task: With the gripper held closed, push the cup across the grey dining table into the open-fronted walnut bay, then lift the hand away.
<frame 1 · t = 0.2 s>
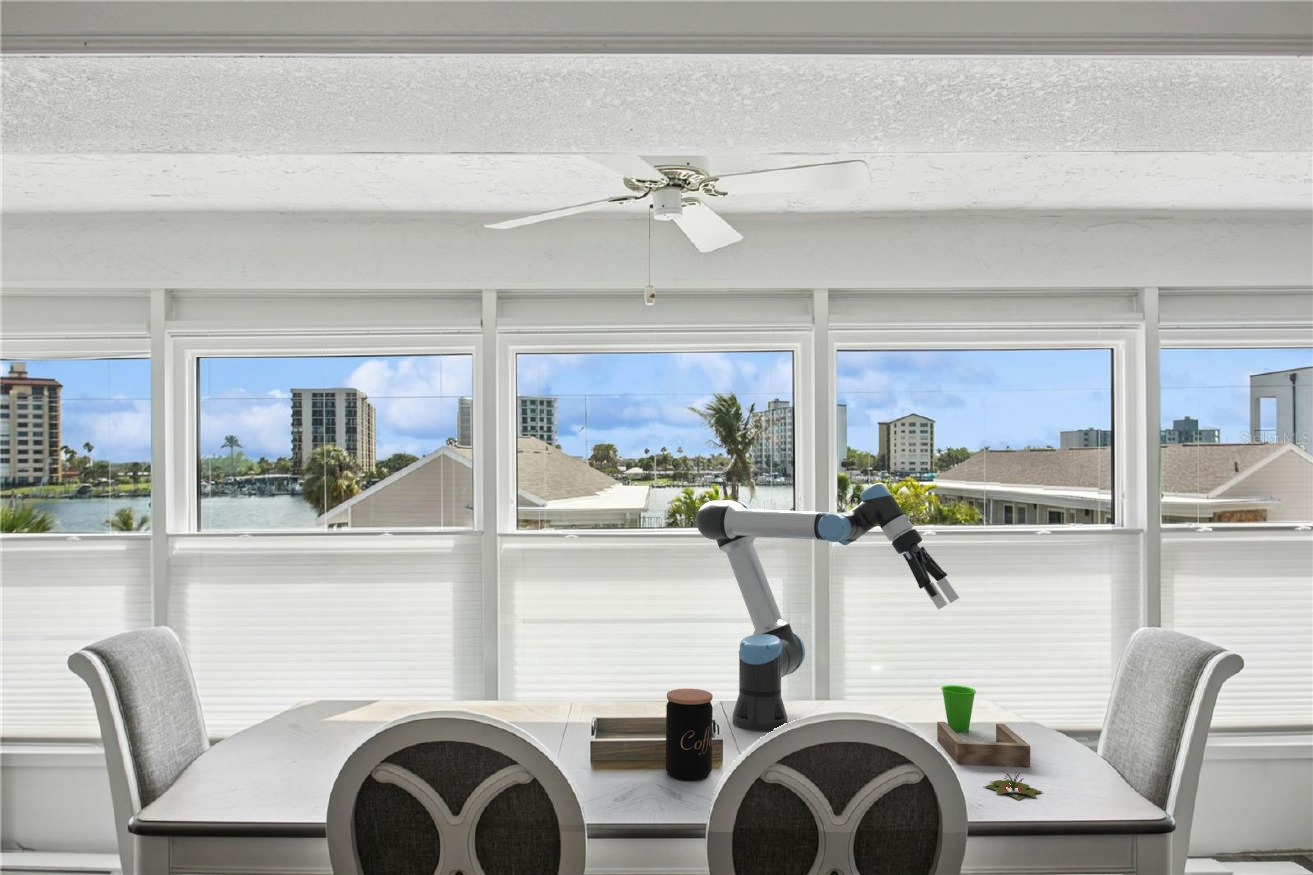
hand: (949, 603, 219), 36 cm above the table, tool tilted 35°, fingers open, 13 cm apart
lily flower: (1013, 793, 184), on the table
coffee jar: (688, 774, 191), on the table
walnut bay: (982, 754, 207), on the table
cup: (958, 730, 227), on the table
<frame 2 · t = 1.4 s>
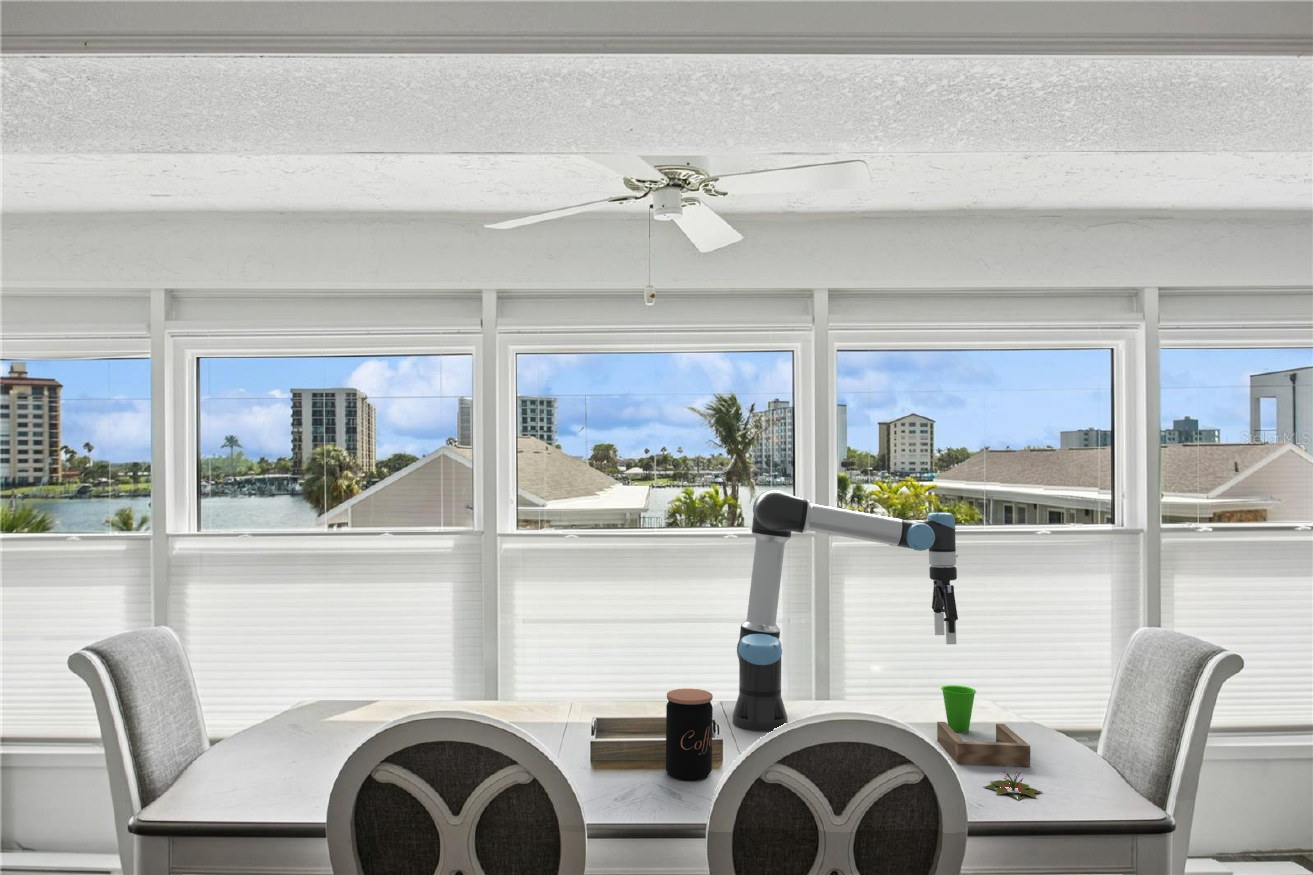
hand: (945, 639, 242), 22 cm above the table, tool pointing down, fingers open, 13 cm apart
nothing on the table moved.
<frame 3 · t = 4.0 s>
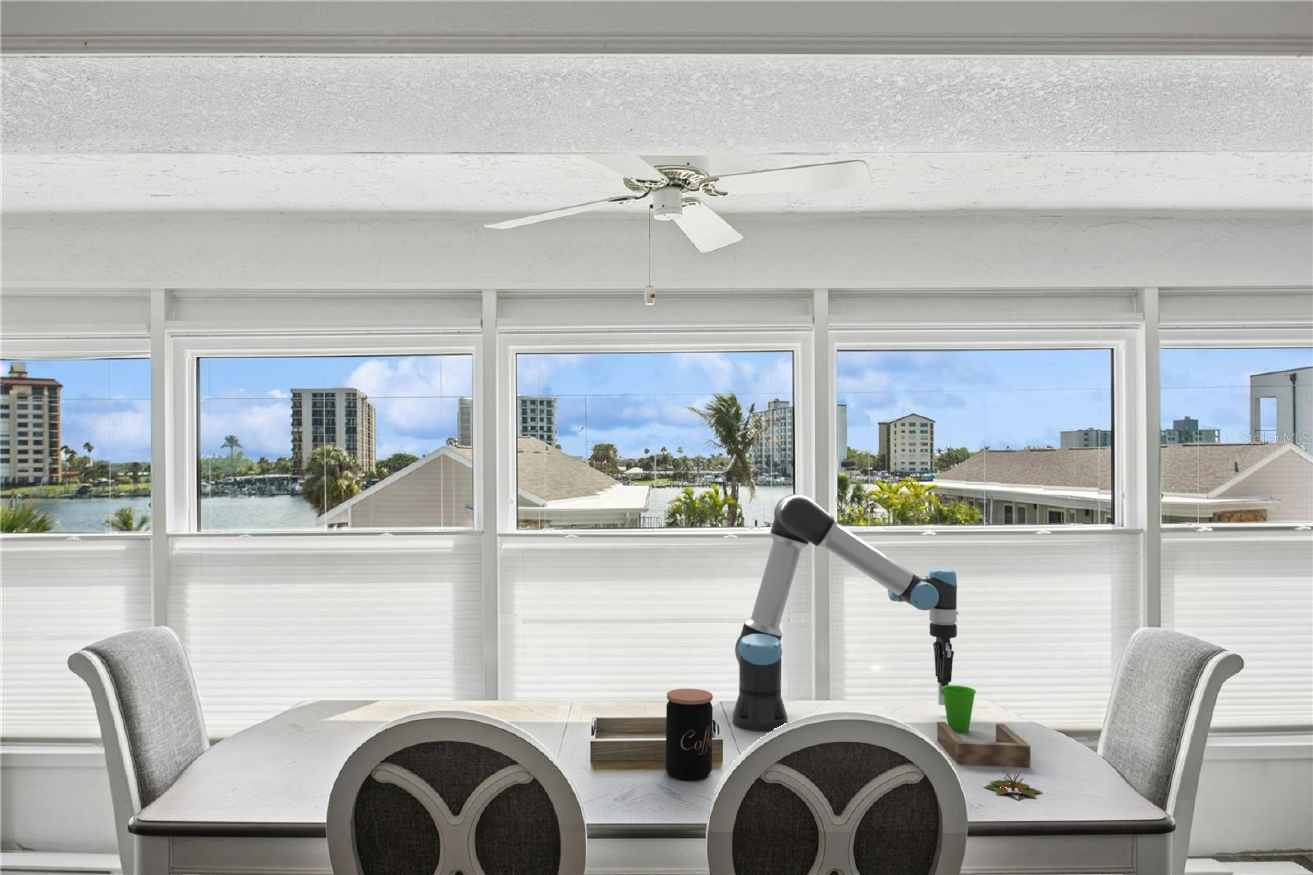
hand: (943, 704, 242), 3 cm above the table, tool pointing down, fingers closed
nothing on the table moved.
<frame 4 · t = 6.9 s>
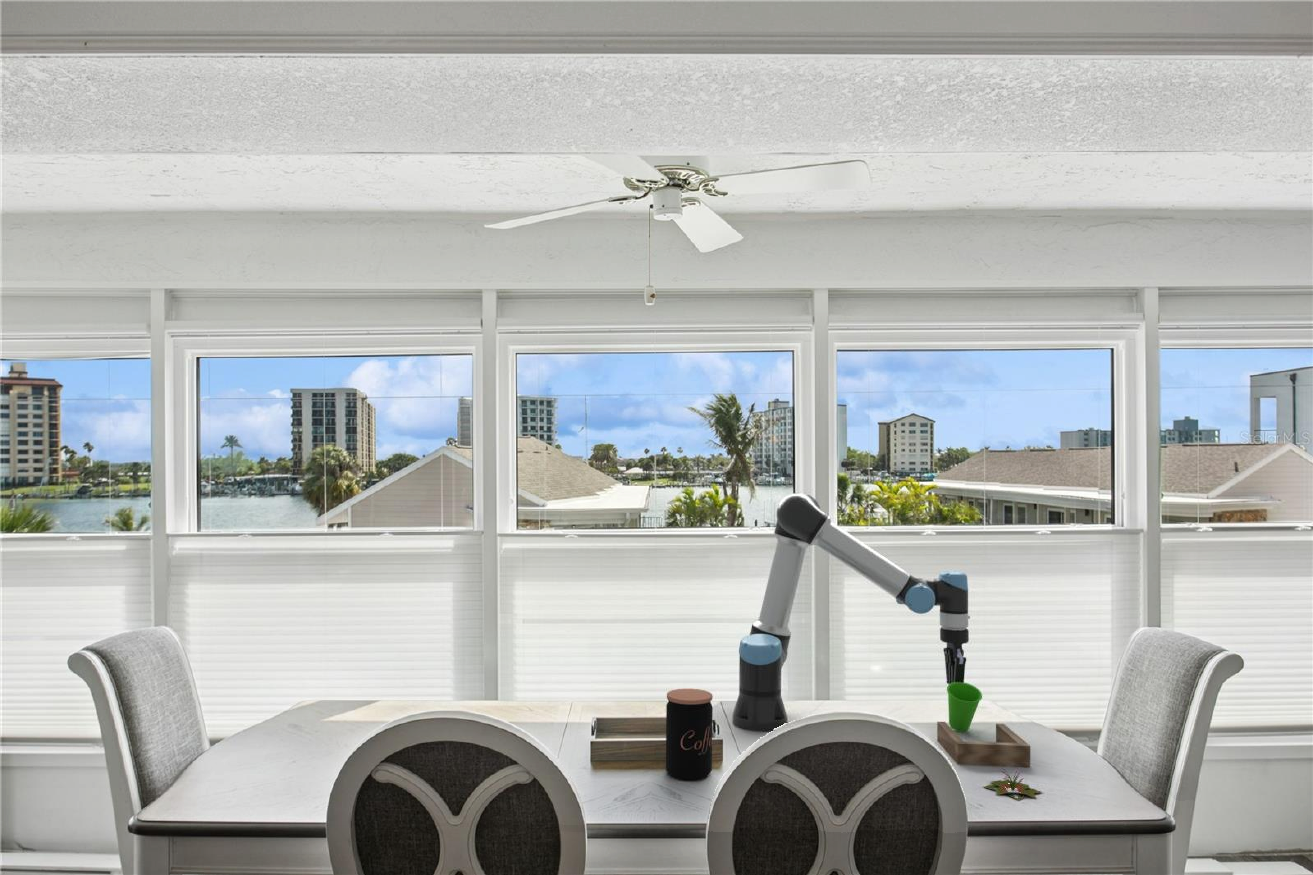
hand: (955, 712, 232), 3 cm above the table, tool pointing down, fingers closed
cup: (958, 726, 227), point 1 cm above the table, touching gripper, hand
everything else where it was.
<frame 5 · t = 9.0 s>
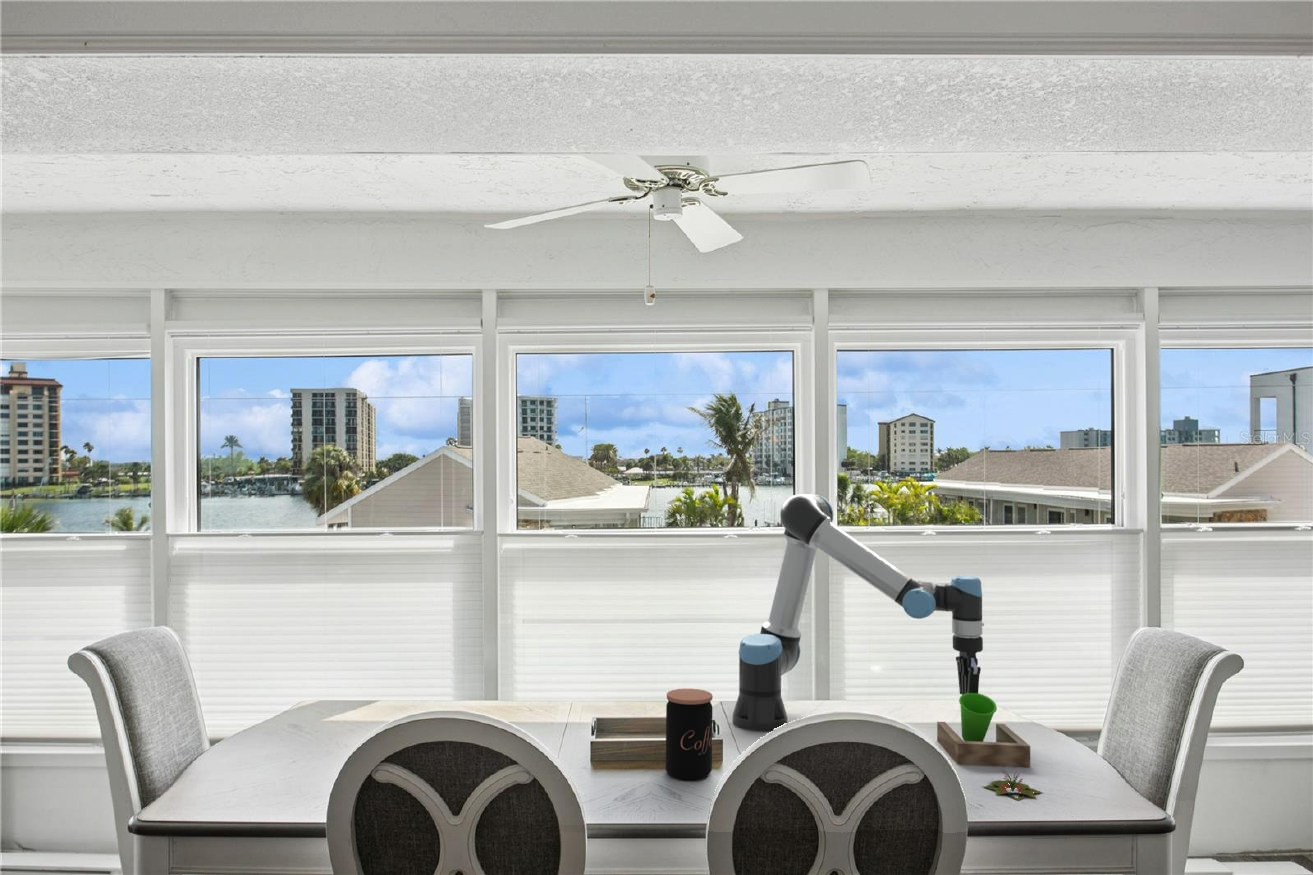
hand: (969, 724, 220), 4 cm above the table, tool pointing down, fingers closed
cup: (972, 739, 216), point 1 cm above the table, touching gripper, hand
everything else where it was.
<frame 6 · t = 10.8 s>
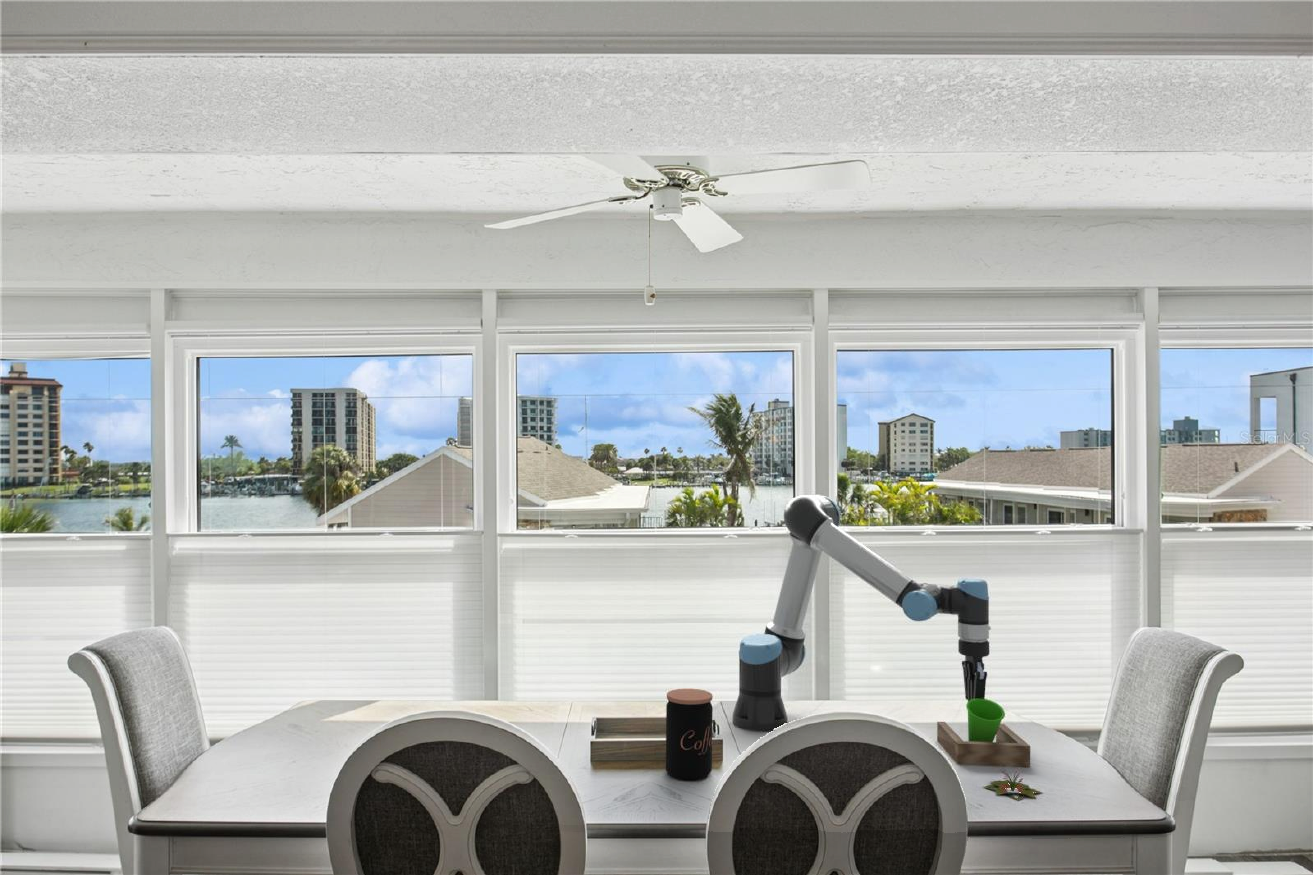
hand: (975, 731, 215), 3 cm above the table, tool pointing down, fingers closed
cup: (979, 746, 210), point 1 cm above the table, touching gripper, hand
everything else where it was.
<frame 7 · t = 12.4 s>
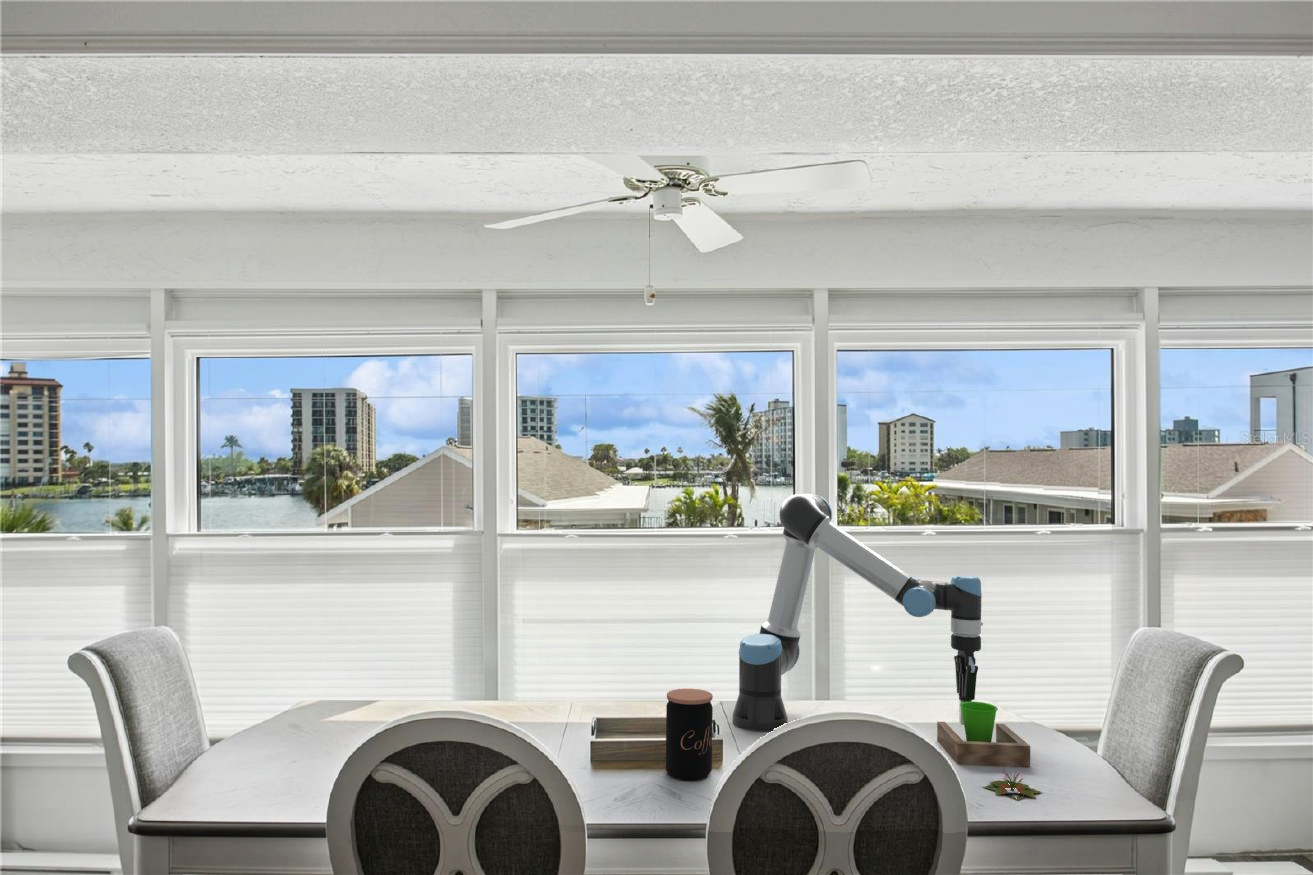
hand: (965, 724, 221), 4 cm above the table, tool pointing down, fingers closed
cup: (978, 751, 210), on the table
everything else where it was.
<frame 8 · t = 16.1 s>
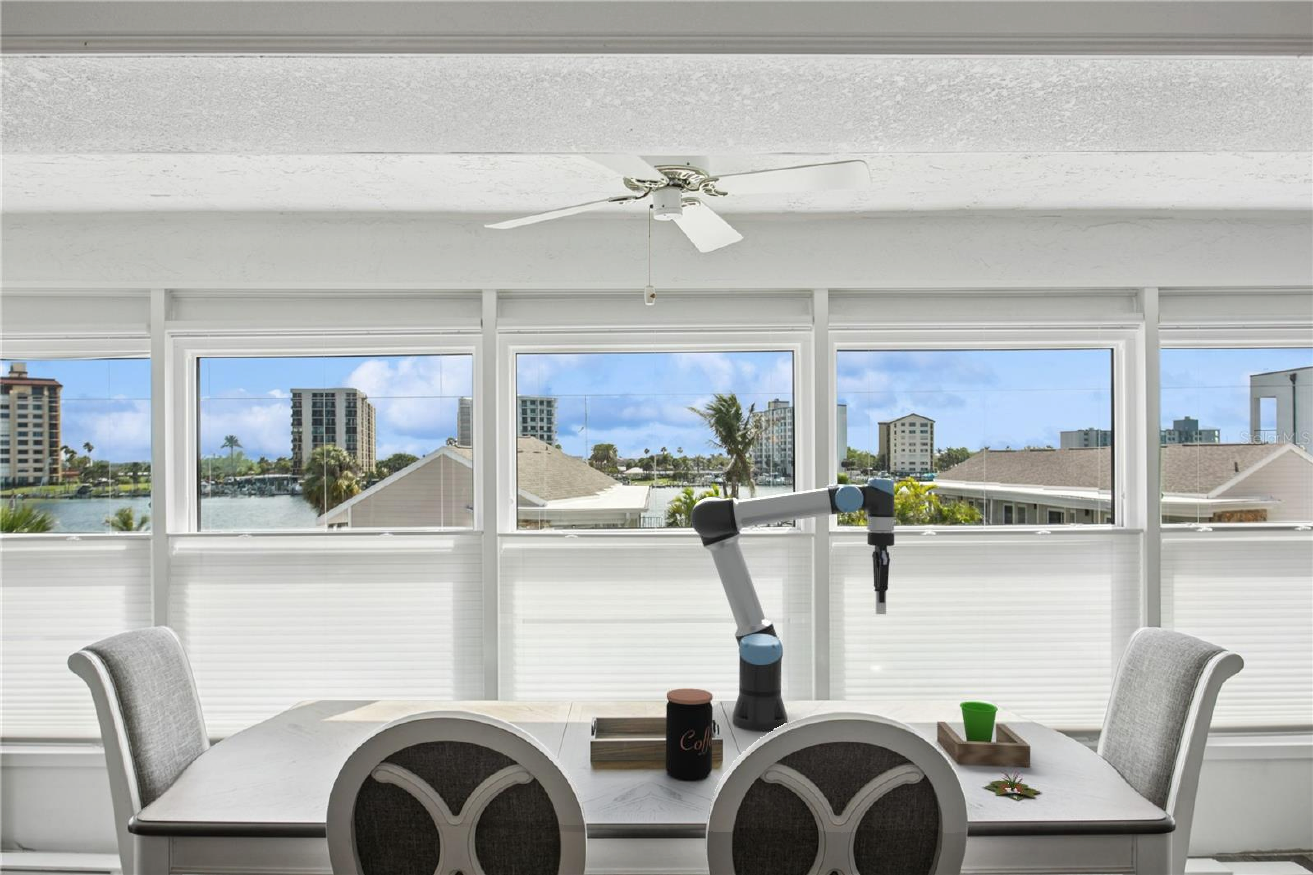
hand: (880, 613, 240), 29 cm above the table, tool pointing down, fingers closed
nothing on the table moved.
at the end: cup 2.9 cm off-centre on the walnut bay, point 0.0 cm above the walnut bay's base; cup tilted 0° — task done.
